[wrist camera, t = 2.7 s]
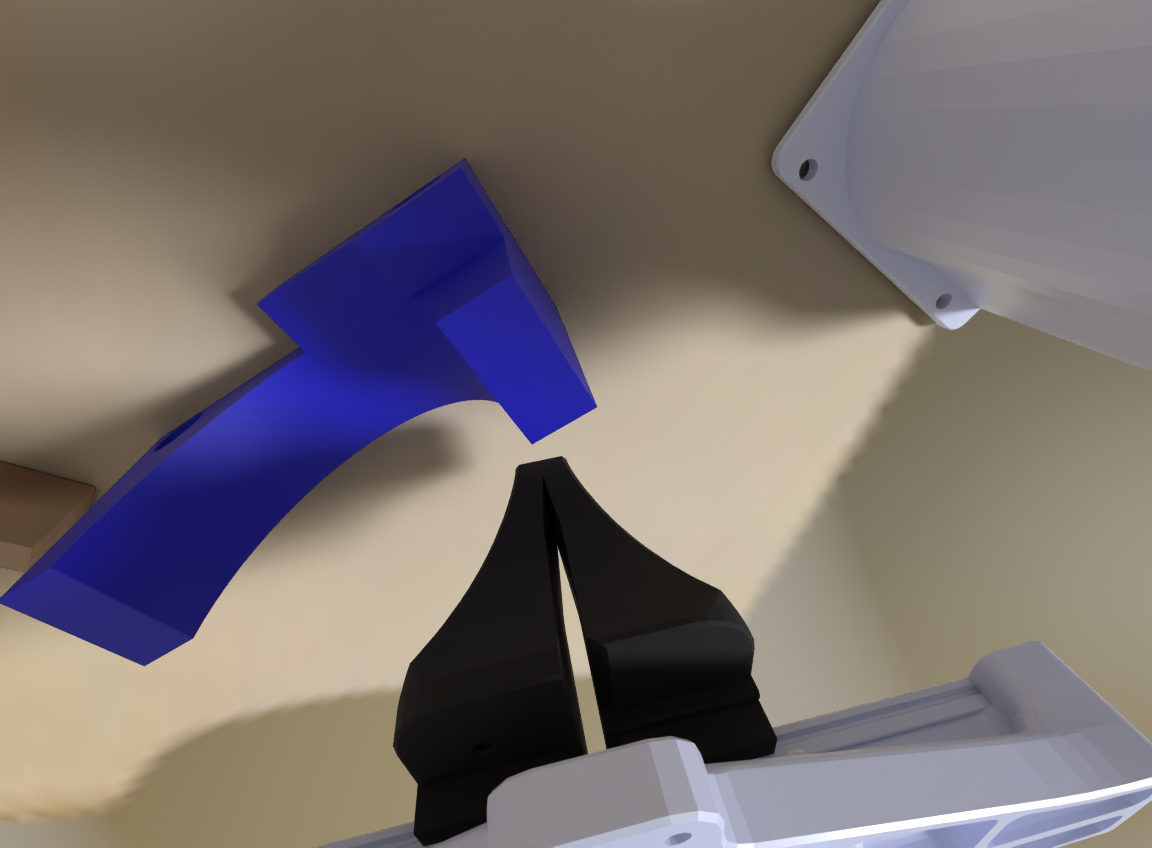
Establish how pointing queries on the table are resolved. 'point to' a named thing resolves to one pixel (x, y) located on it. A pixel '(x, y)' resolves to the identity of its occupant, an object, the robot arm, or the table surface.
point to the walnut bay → (36, 513)
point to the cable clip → (314, 414)
